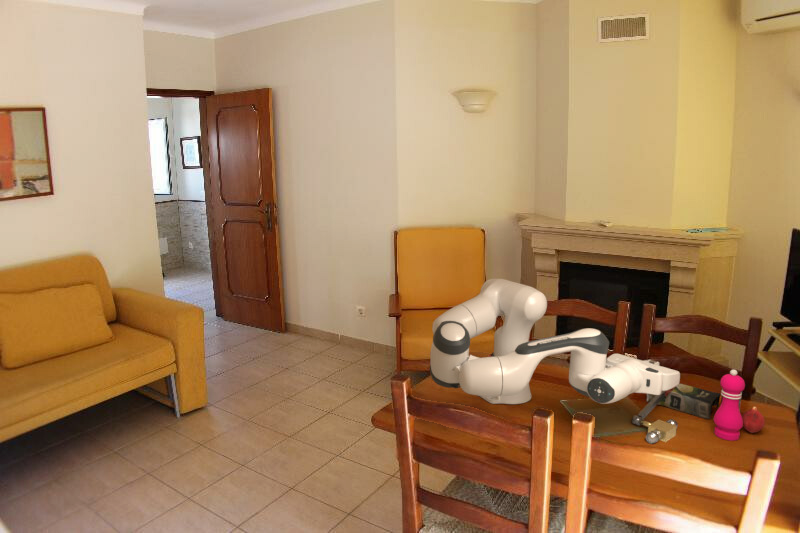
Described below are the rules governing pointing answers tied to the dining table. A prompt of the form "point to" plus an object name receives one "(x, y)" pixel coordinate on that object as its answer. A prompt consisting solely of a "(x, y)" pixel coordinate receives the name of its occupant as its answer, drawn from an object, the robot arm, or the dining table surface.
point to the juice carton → (690, 400)
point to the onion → (753, 420)
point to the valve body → (660, 430)
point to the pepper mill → (729, 407)
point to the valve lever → (650, 406)
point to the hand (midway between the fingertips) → (654, 363)
